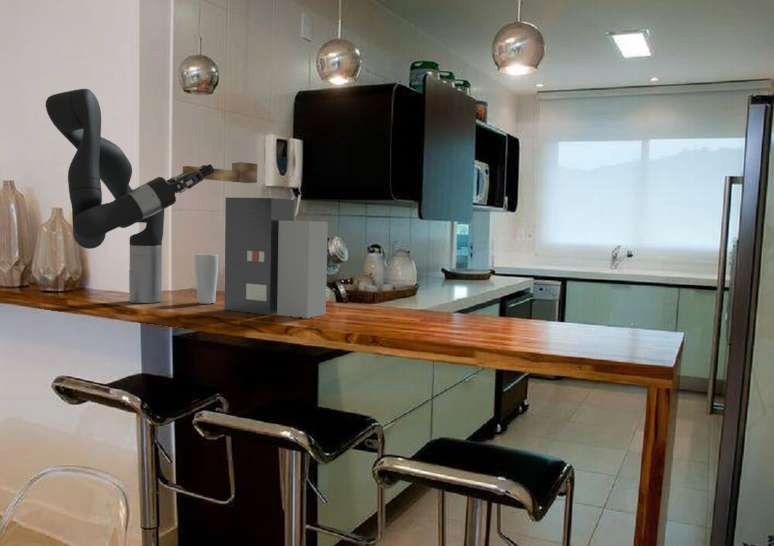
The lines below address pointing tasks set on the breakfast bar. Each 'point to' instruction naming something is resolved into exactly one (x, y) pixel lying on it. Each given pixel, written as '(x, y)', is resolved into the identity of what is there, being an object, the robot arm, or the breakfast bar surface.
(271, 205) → the switch cabinet
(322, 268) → the grey tall block
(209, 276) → the drinking glass
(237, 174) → the oak bar
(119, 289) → the breakfast bar surface
